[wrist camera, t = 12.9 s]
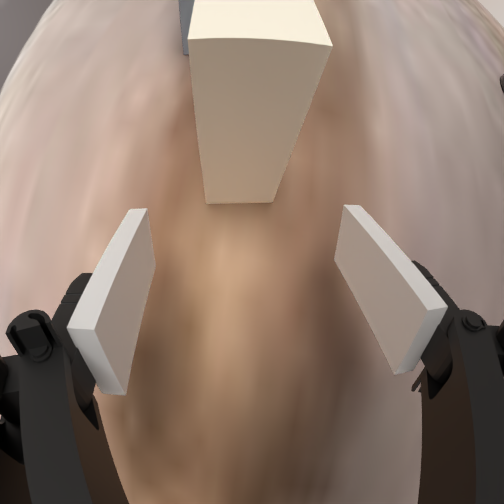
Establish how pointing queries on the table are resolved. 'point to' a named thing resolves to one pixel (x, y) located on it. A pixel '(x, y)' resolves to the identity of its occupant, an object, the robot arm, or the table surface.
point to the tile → (252, 90)
